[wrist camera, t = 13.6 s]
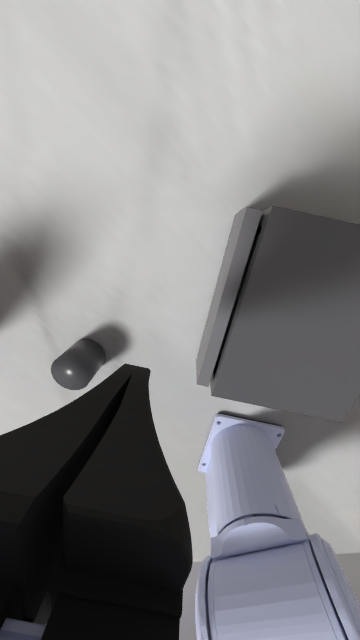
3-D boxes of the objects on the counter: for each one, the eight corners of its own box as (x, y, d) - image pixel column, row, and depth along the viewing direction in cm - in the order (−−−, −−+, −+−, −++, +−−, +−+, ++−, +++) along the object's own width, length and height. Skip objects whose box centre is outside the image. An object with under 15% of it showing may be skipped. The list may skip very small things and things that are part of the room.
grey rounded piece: (104, 371, 23) (89, 393, 20) (71, 365, 23) (51, 385, 20) (106, 343, 22) (91, 361, 18) (72, 336, 22) (50, 352, 18)
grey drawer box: (207, 362, 22) (211, 395, 17) (250, 215, 17) (272, 205, 12) (310, 384, 22) (342, 422, 17) (382, 245, 17) (455, 246, 12)
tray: (196, 360, 21) (196, 384, 18) (235, 214, 17) (246, 206, 13) (299, 381, 22) (321, 410, 18) (368, 243, 17) (416, 244, 13)
